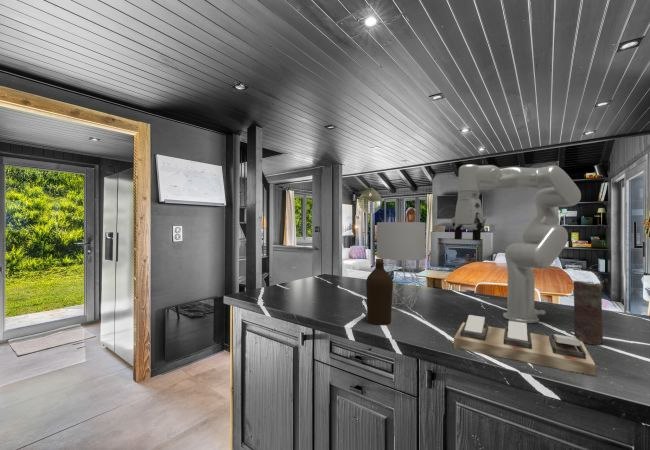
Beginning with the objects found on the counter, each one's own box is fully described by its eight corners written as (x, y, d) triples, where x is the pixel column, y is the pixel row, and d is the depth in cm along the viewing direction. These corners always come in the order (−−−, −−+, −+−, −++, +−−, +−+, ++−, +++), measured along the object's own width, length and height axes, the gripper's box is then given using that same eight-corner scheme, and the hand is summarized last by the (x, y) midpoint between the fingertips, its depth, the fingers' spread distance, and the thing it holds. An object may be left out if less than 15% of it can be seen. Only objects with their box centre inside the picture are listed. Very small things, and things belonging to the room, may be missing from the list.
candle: (567, 337, 107) (568, 279, 107) (587, 336, 108) (587, 279, 108) (588, 345, 100) (588, 284, 100) (609, 345, 100) (609, 283, 100)
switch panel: (582, 351, 95) (582, 336, 95) (595, 376, 79) (595, 358, 79) (462, 330, 113) (463, 318, 113) (453, 347, 97) (454, 333, 97)
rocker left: (484, 320, 106) (484, 317, 106) (481, 337, 97) (481, 332, 96) (468, 318, 108) (468, 314, 108) (464, 333, 99) (464, 329, 99)
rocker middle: (526, 327, 99) (526, 323, 99) (527, 345, 90) (527, 340, 90) (508, 324, 102) (508, 320, 102) (507, 341, 93) (507, 337, 93)
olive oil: (373, 327, 116) (374, 260, 116) (361, 318, 126) (361, 257, 126) (397, 324, 120) (398, 260, 120) (383, 316, 130) (384, 257, 130)
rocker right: (573, 342, 93) (573, 337, 93) (580, 346, 84) (579, 340, 84) (553, 338, 96) (553, 334, 96) (557, 342, 87) (557, 337, 87)
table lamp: (392, 298, 162) (393, 222, 162) (433, 306, 146) (433, 222, 147) (366, 306, 146) (367, 222, 146) (409, 316, 130) (410, 222, 131)
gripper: (493, 195, 114) (492, 241, 114) (460, 198, 131) (459, 239, 131) (477, 193, 112) (476, 240, 112) (445, 197, 129) (444, 238, 128)
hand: (466, 239), depth 121 cm, fingers open, 9 cm apart
